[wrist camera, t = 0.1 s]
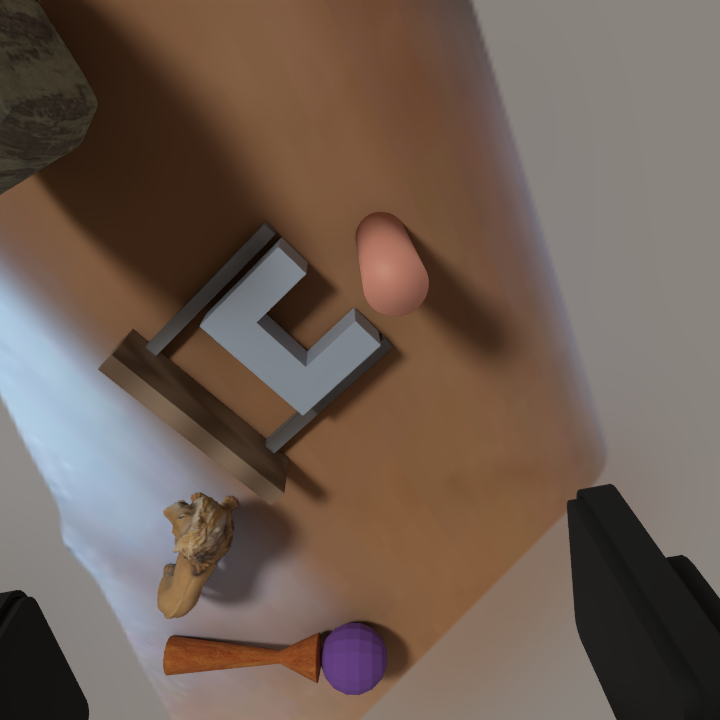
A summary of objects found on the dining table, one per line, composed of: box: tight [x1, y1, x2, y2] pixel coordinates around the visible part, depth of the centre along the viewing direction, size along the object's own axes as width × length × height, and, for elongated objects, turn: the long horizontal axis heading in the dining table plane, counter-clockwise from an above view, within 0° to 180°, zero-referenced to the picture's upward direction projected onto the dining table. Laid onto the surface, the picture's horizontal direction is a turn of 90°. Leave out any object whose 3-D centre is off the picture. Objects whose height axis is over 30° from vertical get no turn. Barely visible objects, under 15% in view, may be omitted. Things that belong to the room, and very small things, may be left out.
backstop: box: [98, 222, 392, 505], centre depth 47 cm, size 16×14×5 cm
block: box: [200, 237, 381, 415], centre depth 47 cm, size 10×8×3 cm
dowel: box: [356, 212, 429, 316], centre depth 41 cm, size 4×4×12 cm
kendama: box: [163, 623, 387, 695], centre depth 59 cm, size 6×6×20 cm
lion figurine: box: [158, 493, 238, 619], centre depth 51 cm, size 15×5×9 cm, turn 165°
